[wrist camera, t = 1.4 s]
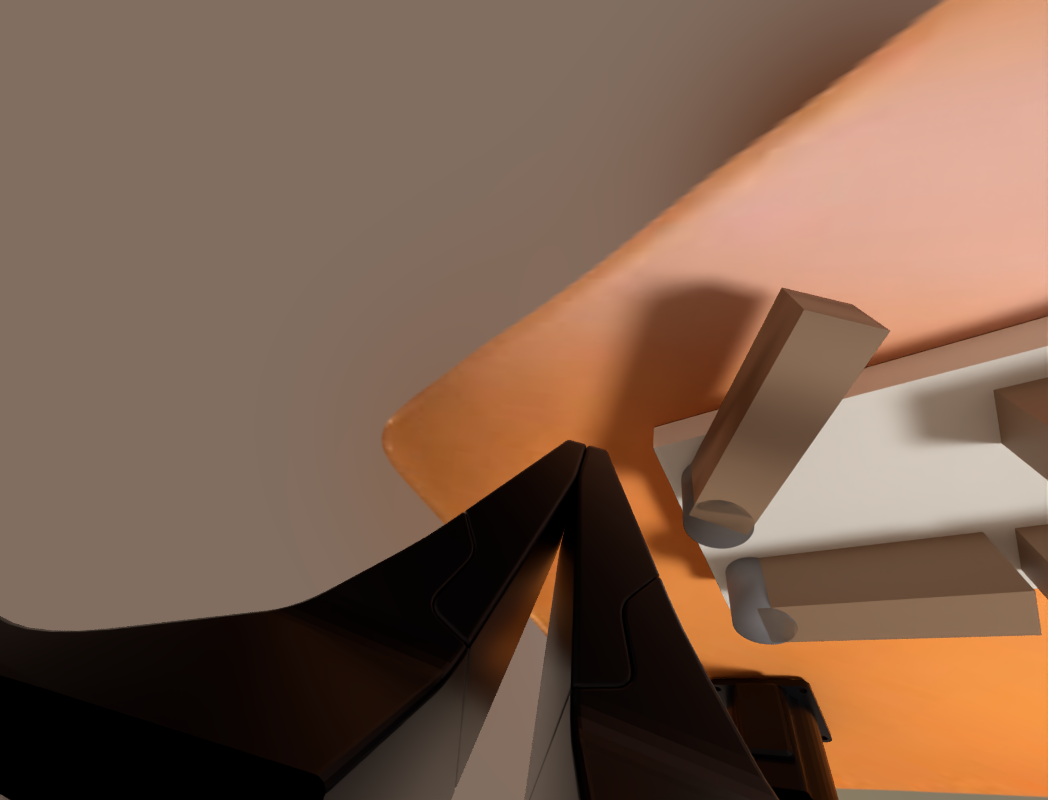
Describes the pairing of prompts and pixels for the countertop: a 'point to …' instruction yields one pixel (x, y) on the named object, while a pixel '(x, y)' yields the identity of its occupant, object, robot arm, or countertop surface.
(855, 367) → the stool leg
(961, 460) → the tray of grey blocks
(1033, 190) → the countertop surface
